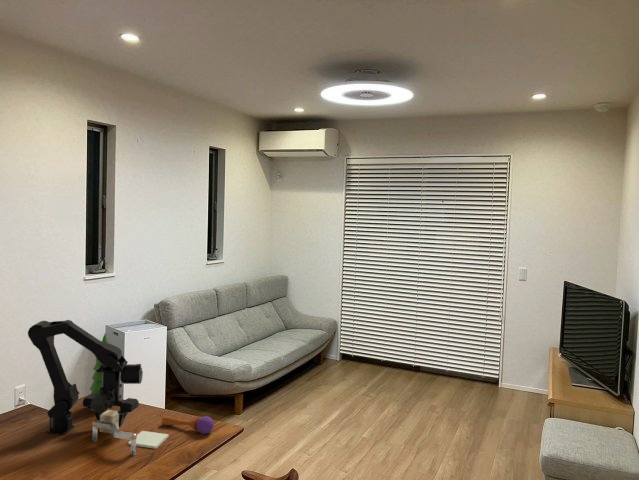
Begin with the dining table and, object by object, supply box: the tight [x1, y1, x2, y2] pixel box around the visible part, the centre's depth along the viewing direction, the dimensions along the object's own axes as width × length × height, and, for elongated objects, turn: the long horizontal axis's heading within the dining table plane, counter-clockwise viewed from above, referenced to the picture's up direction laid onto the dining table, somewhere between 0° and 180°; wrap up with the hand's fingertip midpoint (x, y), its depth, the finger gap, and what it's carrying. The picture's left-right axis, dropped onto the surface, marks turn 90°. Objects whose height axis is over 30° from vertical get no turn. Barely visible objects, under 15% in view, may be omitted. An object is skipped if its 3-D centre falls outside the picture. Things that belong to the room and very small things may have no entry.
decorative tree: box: [89, 333, 109, 410], centre depth 199 cm, size 10×9×30 cm
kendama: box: [161, 415, 215, 435], centre depth 184 cm, size 6×6×20 cm
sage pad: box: [127, 430, 169, 450], centre depth 174 cm, size 10×9×1 cm
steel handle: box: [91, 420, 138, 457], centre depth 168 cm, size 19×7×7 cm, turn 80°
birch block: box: [99, 409, 120, 434], centre depth 181 cm, size 5×5×6 cm
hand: (110, 426), depth 181 cm, fingers open, 7 cm apart
